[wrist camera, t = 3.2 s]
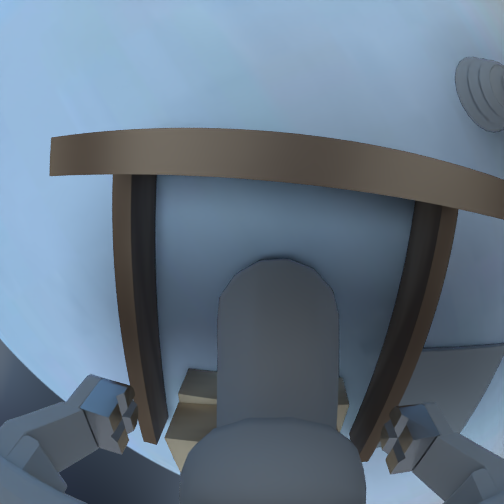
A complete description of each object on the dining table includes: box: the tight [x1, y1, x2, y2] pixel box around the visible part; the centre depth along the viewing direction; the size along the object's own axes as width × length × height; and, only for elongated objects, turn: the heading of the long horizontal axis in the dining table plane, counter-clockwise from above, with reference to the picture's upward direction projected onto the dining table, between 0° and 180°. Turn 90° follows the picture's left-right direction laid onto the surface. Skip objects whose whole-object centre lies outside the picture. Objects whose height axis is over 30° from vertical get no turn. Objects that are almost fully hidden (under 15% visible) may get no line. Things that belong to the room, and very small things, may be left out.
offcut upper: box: [165, 403, 338, 472], centre depth 15 cm, size 9×5×3 cm, turn 95°
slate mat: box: [376, 343, 504, 448], centre depth 18 cm, size 10×10×1 cm
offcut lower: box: [178, 368, 349, 432], centre depth 18 cm, size 10×6×3 cm, turn 88°
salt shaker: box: [179, 259, 366, 504], centre depth 10 cm, size 6×6×13 cm
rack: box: [50, 128, 504, 462], centre depth 13 cm, size 16×19×8 cm
